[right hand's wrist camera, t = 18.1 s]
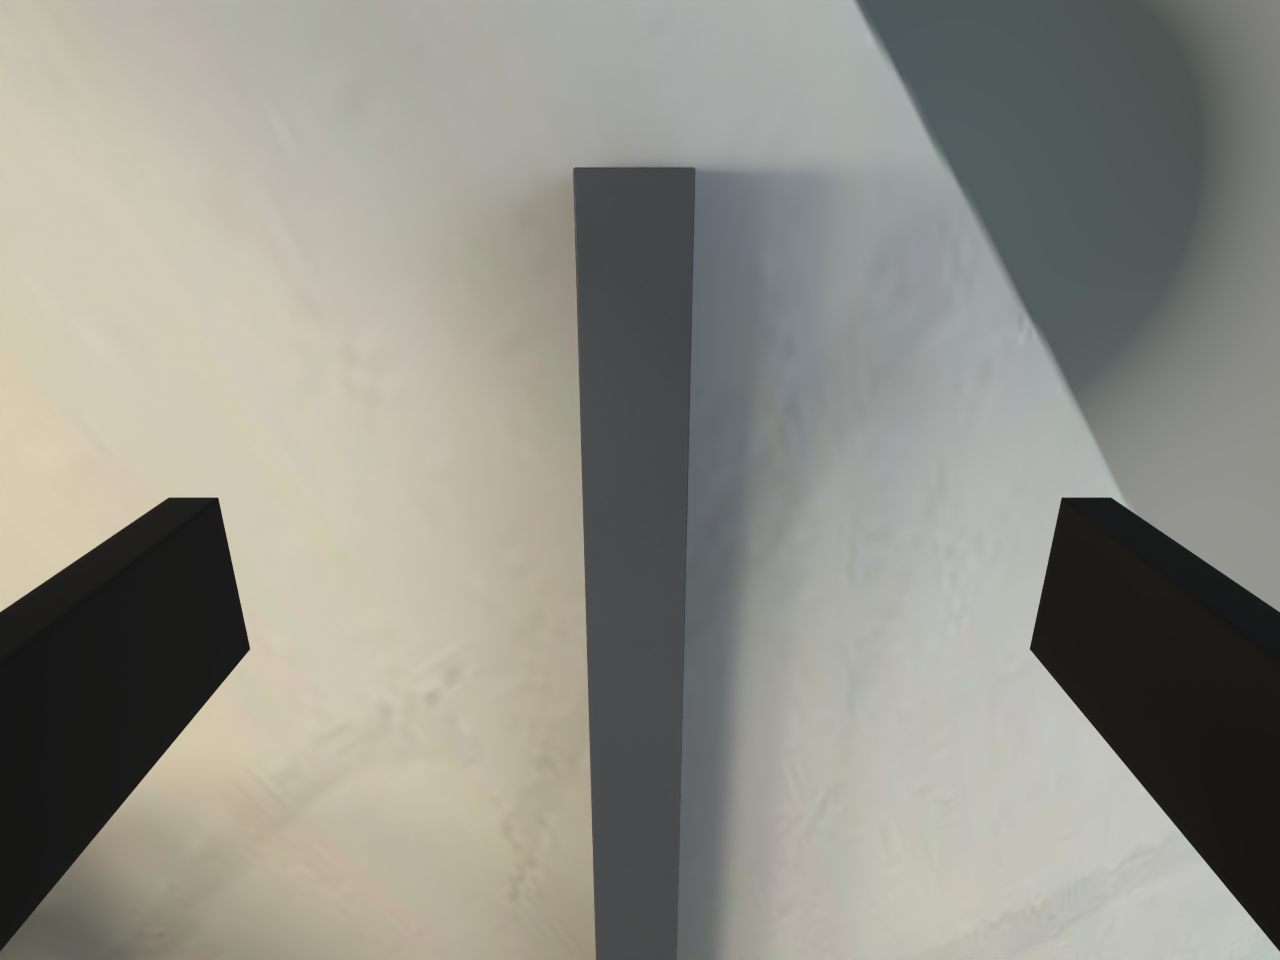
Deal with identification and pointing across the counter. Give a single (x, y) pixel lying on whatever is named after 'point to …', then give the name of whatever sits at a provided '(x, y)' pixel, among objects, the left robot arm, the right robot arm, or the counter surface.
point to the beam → (635, 536)
